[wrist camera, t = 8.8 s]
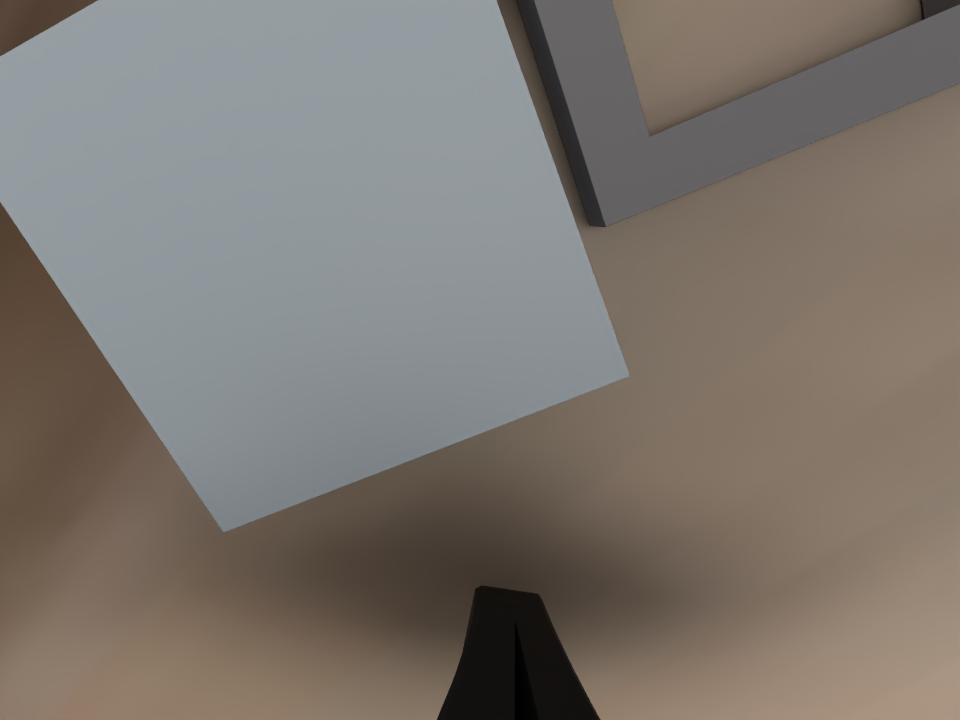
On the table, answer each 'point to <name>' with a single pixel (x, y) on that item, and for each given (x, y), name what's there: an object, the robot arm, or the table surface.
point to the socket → (727, 129)
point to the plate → (303, 231)
